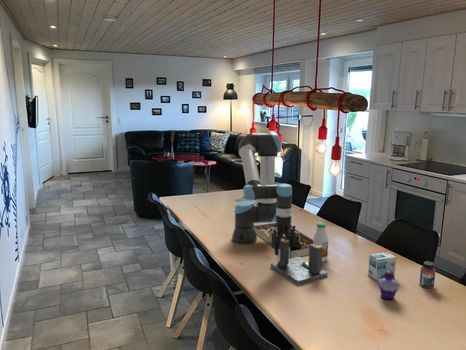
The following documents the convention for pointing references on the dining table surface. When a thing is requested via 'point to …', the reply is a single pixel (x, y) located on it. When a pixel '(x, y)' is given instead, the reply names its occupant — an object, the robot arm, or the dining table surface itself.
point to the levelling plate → (298, 271)
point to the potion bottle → (388, 286)
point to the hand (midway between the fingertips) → (282, 259)
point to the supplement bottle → (427, 275)
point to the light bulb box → (381, 265)
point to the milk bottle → (321, 239)
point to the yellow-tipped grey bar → (284, 253)
